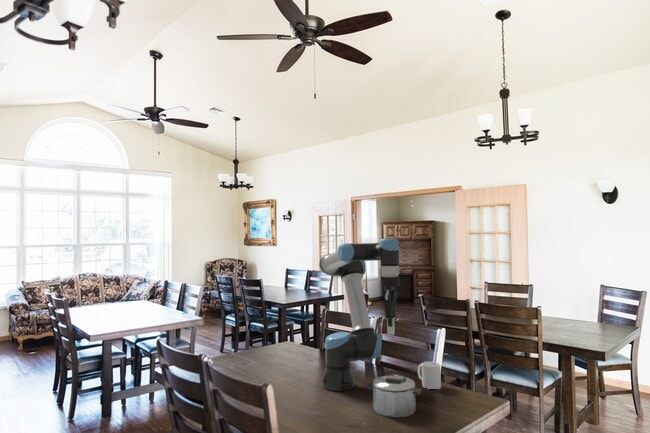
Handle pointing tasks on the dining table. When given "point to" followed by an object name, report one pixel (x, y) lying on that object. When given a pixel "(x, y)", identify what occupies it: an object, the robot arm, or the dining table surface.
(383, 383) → the lid
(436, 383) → the cup
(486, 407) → the dining table surface
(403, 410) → the pot
